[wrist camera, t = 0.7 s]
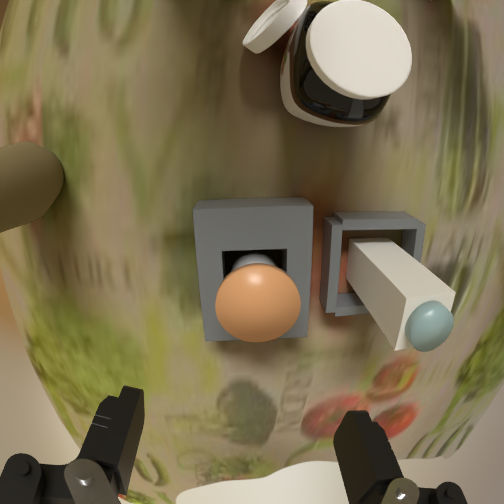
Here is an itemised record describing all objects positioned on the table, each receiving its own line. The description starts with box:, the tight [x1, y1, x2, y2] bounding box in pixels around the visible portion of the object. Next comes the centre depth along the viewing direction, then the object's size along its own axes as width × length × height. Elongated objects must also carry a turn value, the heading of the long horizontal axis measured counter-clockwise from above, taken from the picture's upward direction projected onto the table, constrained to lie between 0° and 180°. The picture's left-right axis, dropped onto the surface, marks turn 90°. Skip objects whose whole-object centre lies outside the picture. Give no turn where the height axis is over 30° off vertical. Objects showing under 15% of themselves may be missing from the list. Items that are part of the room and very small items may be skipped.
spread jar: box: [242, 0, 412, 127], centre depth 21 cm, size 12×11×12 cm
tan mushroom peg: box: [215, 252, 301, 342], centre depth 27 cm, size 6×6×6 cm
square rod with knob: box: [346, 238, 455, 352], centre depth 26 cm, size 4×4×14 cm
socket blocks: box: [193, 197, 426, 341], centre depth 31 cm, size 22×13×4 cm, turn 92°
